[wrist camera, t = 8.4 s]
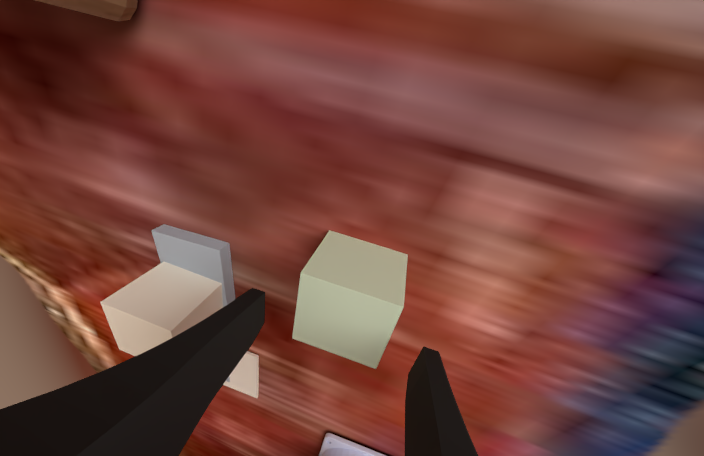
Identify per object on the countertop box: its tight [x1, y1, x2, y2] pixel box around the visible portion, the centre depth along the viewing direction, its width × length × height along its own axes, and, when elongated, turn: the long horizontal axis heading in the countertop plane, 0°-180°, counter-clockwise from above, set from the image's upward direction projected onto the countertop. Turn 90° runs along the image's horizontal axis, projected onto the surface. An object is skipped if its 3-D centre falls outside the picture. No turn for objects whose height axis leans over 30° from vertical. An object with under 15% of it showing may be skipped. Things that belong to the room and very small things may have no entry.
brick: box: [100, 261, 223, 356], centre depth 16 cm, size 4×4×4 cm
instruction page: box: [223, 351, 259, 398], centre depth 24 cm, size 7×10×1 cm
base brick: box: [151, 224, 235, 307], centre depth 19 cm, size 10×5×2 cm, turn 171°
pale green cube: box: [292, 230, 408, 369], centre depth 13 cm, size 4×4×4 cm
